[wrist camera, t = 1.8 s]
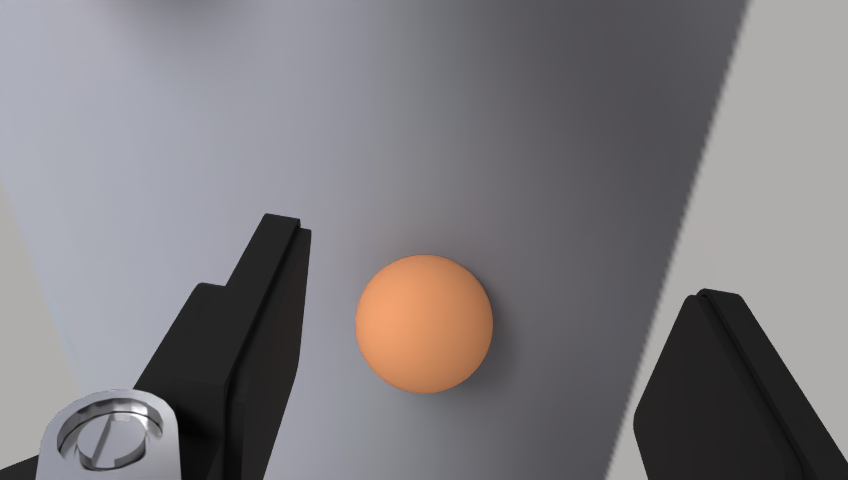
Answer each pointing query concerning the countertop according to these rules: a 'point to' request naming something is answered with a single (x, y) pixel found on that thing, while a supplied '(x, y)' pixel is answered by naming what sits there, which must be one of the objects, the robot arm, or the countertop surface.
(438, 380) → the ball
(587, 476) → the countertop surface
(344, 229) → the countertop surface
